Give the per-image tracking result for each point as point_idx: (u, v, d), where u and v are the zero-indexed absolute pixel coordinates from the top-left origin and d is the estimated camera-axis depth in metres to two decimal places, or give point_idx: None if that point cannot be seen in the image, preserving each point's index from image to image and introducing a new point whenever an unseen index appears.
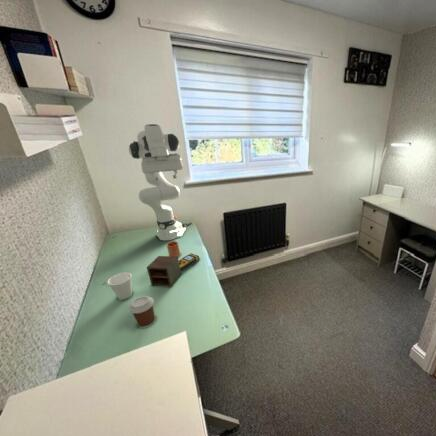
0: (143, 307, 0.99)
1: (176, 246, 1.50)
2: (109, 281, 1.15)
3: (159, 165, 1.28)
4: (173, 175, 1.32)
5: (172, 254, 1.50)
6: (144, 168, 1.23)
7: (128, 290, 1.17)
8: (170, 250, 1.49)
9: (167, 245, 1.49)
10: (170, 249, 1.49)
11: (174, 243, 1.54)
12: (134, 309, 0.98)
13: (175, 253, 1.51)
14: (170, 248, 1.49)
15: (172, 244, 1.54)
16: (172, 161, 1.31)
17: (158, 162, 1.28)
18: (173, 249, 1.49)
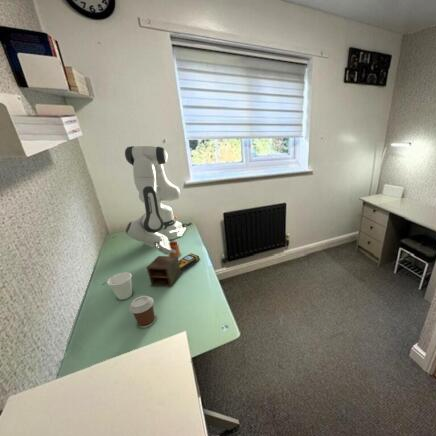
0: (143, 307, 0.99)
1: (176, 246, 1.50)
2: (109, 281, 1.15)
3: None
4: None
5: (172, 254, 1.50)
6: None
7: (128, 290, 1.17)
8: None
9: None
10: None
11: (174, 243, 1.54)
12: (134, 309, 0.98)
13: (175, 253, 1.51)
14: None
15: (172, 244, 1.54)
16: None
17: None
18: (173, 249, 1.49)
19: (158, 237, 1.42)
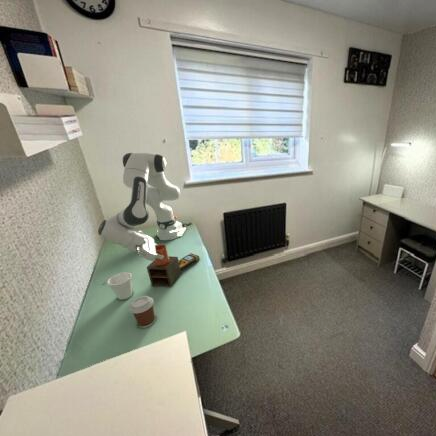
0: (143, 307, 0.99)
1: (164, 250, 1.23)
2: (109, 281, 1.15)
3: None
4: None
5: (159, 260, 1.23)
6: None
7: (128, 290, 1.17)
8: None
9: None
10: None
11: (161, 246, 1.27)
12: (134, 309, 0.98)
13: (162, 259, 1.24)
14: None
15: (159, 248, 1.27)
16: None
17: None
18: None
19: (140, 239, 1.15)
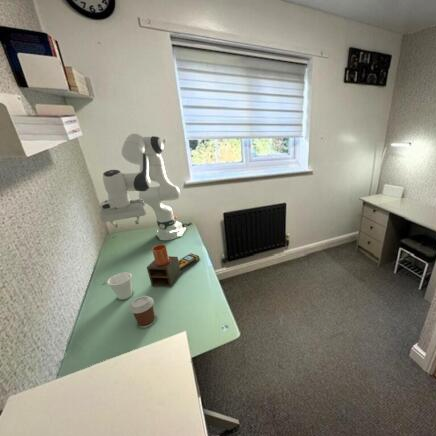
0: (143, 307, 0.99)
1: (164, 250, 1.23)
2: (109, 281, 1.15)
3: (119, 214, 1.24)
4: (135, 221, 1.30)
5: (159, 260, 1.23)
6: (102, 219, 1.20)
7: (128, 290, 1.17)
8: (156, 255, 1.22)
9: (152, 249, 1.22)
10: (156, 254, 1.22)
11: (161, 246, 1.27)
12: (134, 309, 0.98)
13: (162, 259, 1.24)
14: (156, 253, 1.21)
15: (159, 248, 1.27)
16: (134, 209, 1.26)
17: (118, 210, 1.23)
18: (160, 254, 1.22)
19: None
